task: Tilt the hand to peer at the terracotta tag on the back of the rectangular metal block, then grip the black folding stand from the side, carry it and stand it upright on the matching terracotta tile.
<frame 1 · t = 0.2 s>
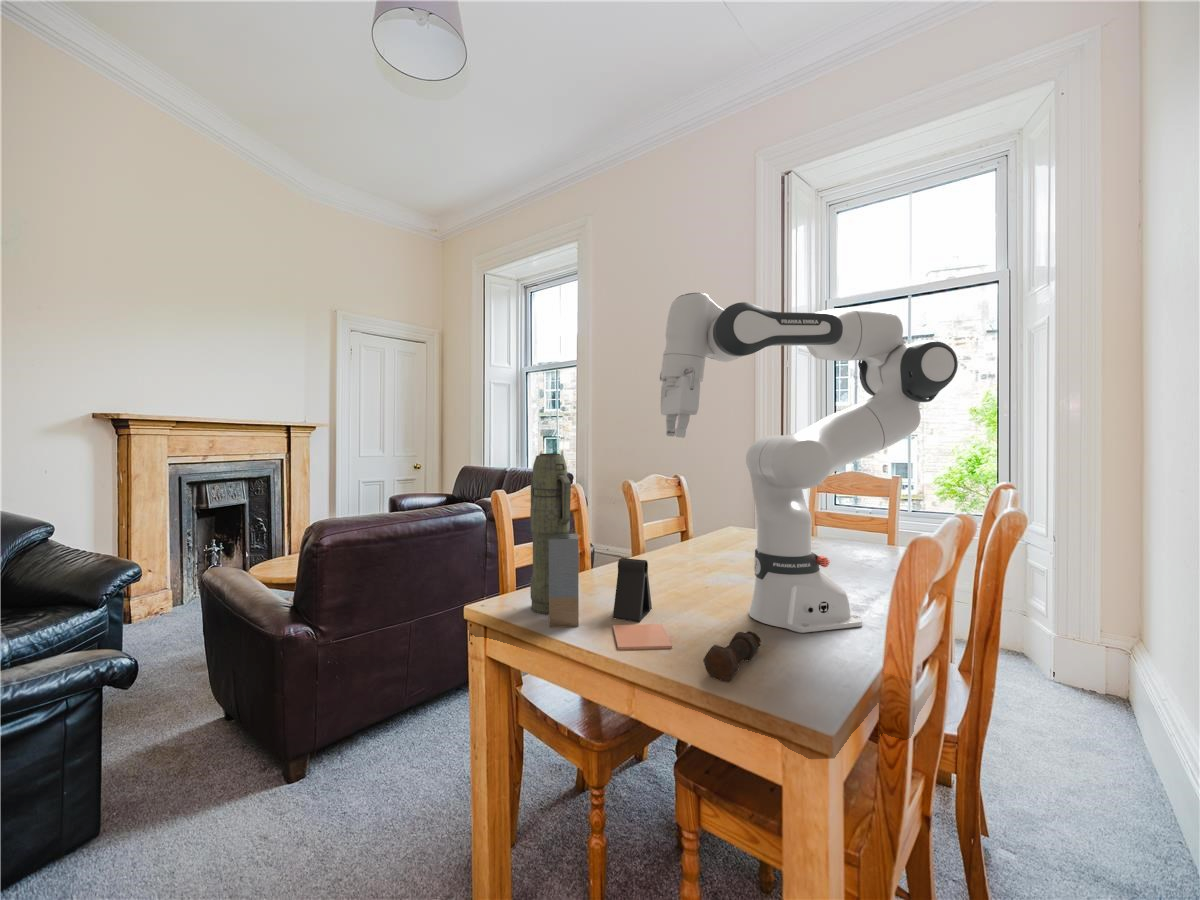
hand: (674, 436, 110), 39 cm above the table, tool pointing down, fingers open, 8 cm apart
bolt: (737, 666, 89), on the table
terracotta tile: (641, 637, 101), on the table
black folding stand: (632, 614, 114), on the table
rectangular metal block: (564, 621, 109), on the table
thermos: (550, 609, 118), on the table
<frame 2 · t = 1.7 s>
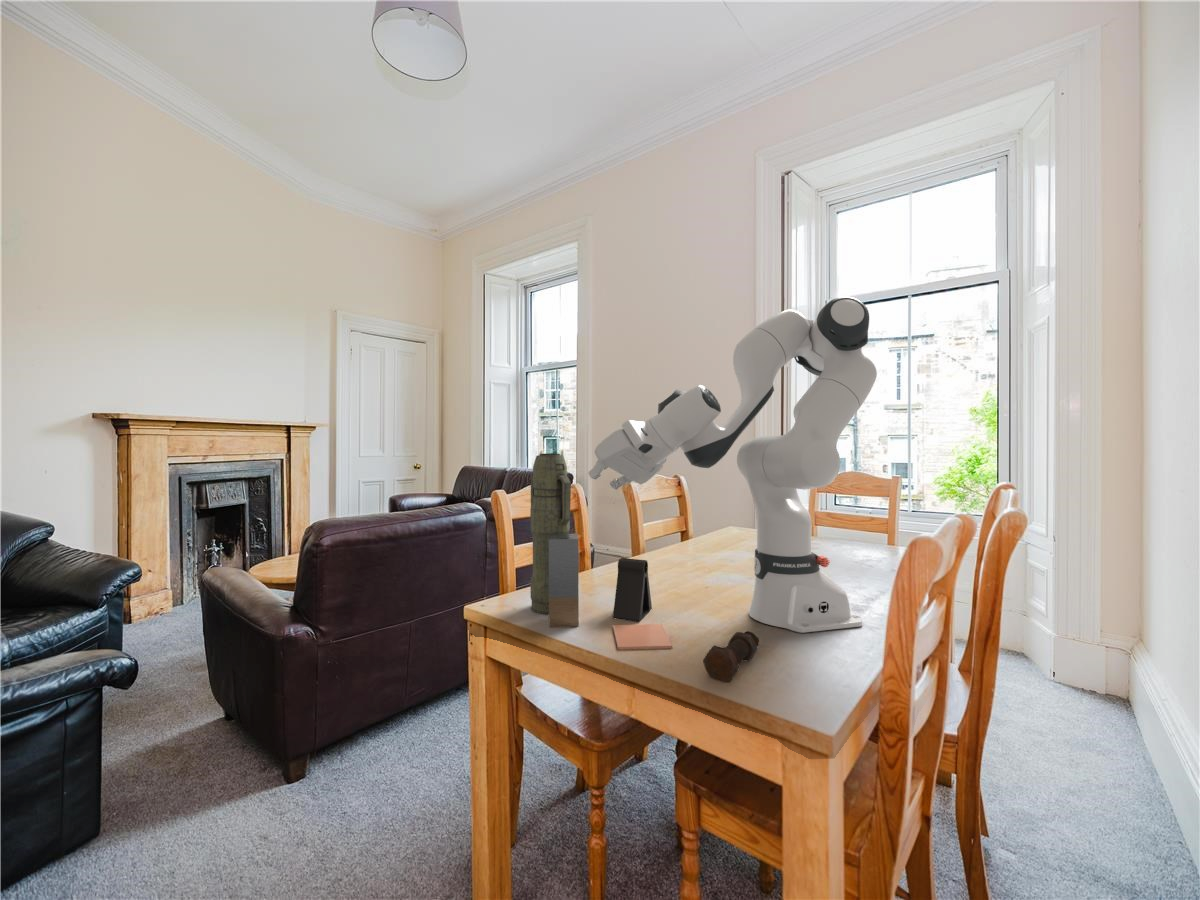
hand: (602, 481, 114), 29 cm above the table, tool tilted 55°, fingers open, 8 cm apart
nothing on the table moved.
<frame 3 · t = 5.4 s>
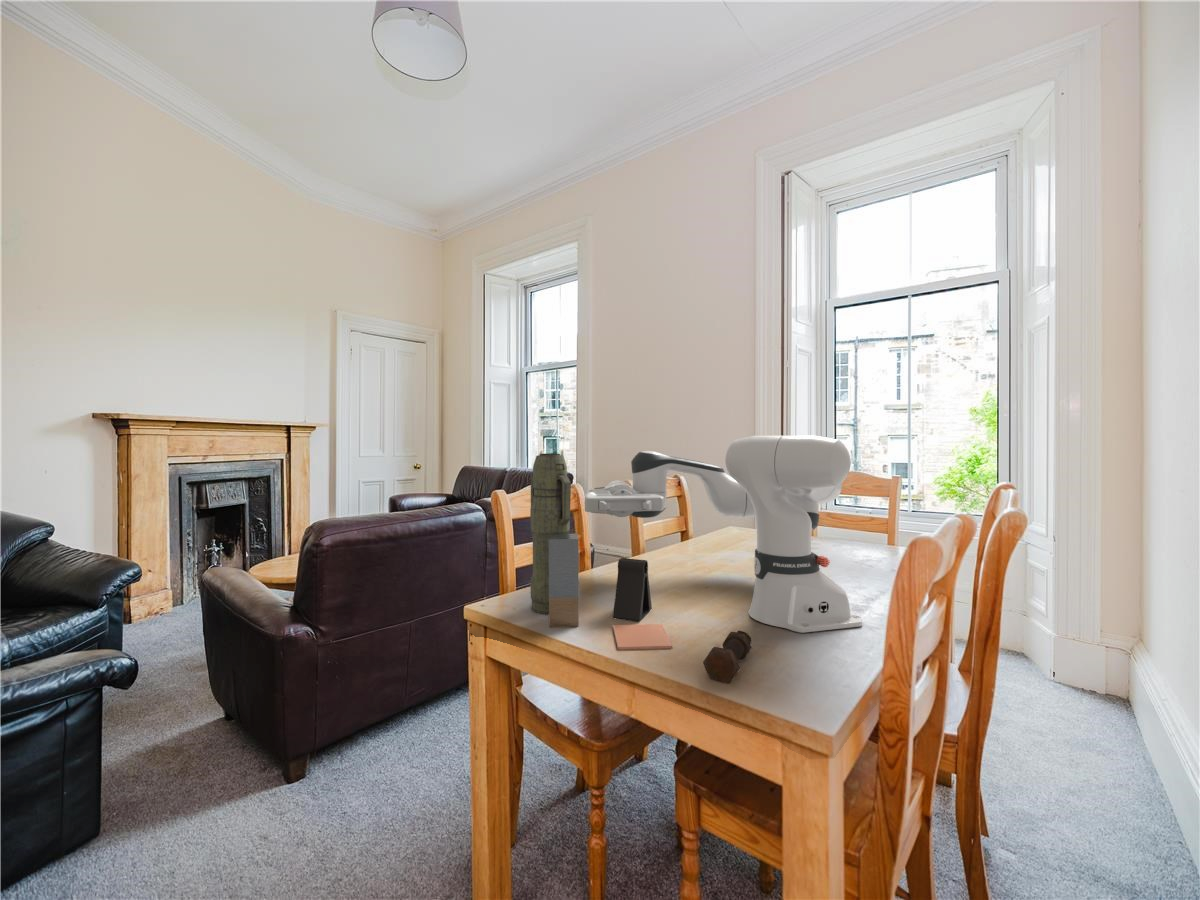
hand: (626, 507, 126), 22 cm above the table, tool horizontal, fingers open, 8 cm apart
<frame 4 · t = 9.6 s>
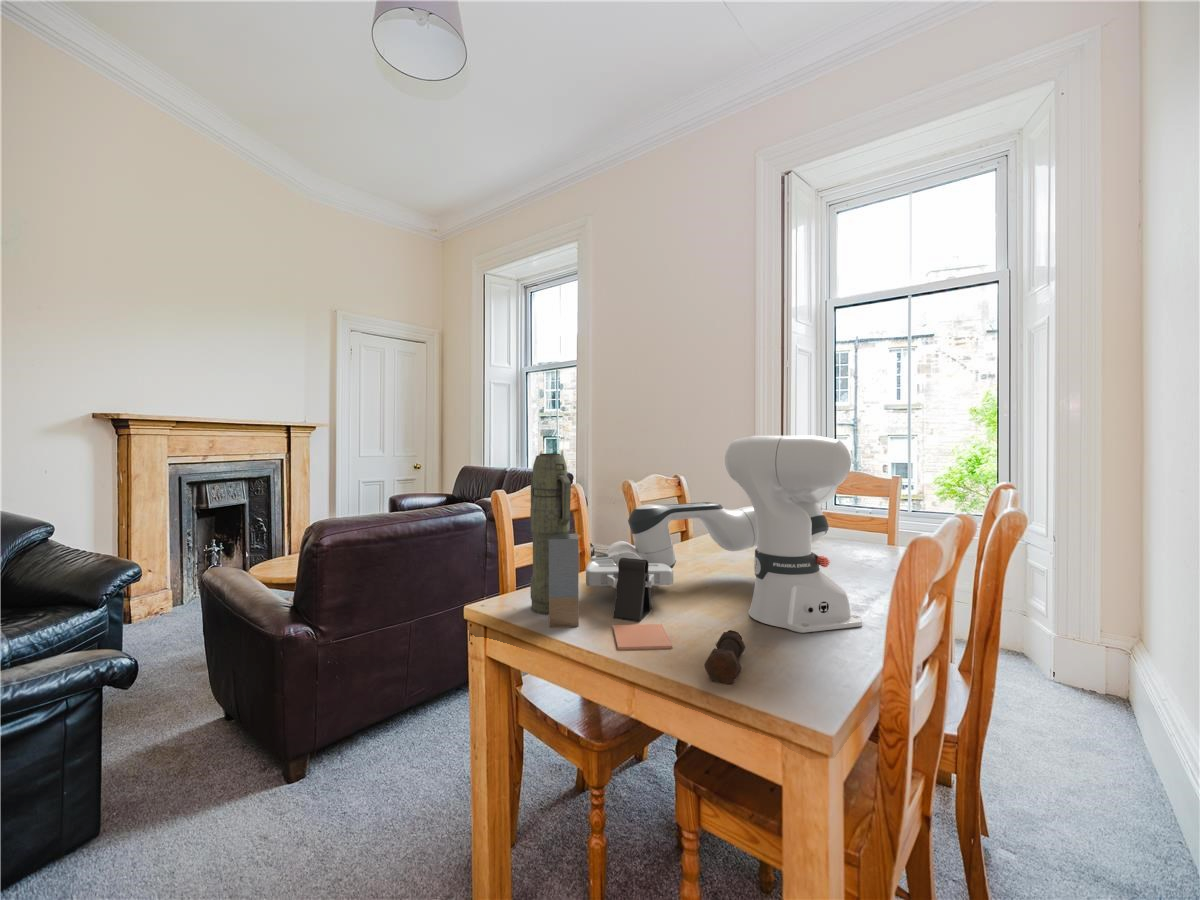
hand: (632, 584, 114), 7 cm above the table, tool horizontal, fingers closed on black folding stand, 5 cm apart
black folding stand: (633, 614, 114), on the table, touching gripper
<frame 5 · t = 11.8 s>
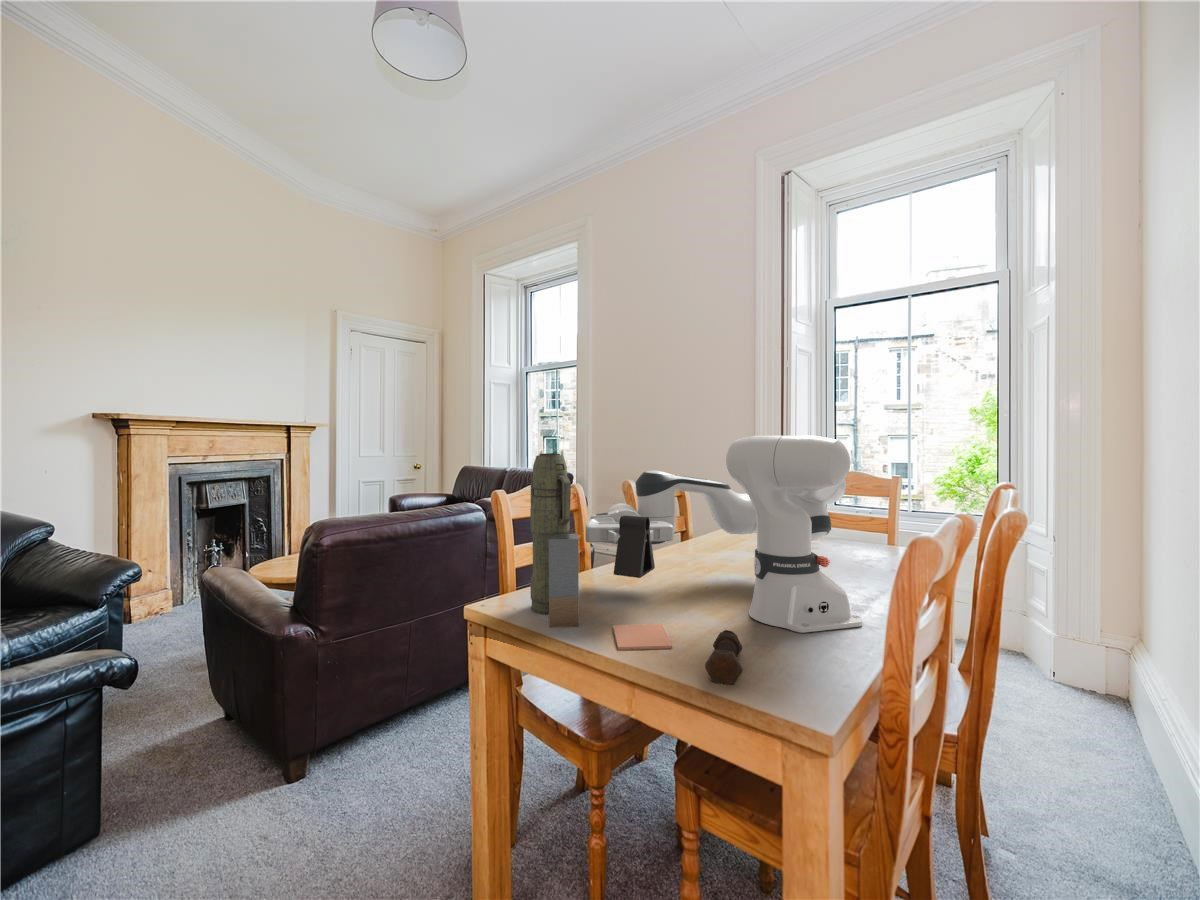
hand: (632, 538, 113), 17 cm above the table, tool horizontal, fingers closed on black folding stand, 5 cm apart
black folding stand: (634, 572, 113), point 9 cm above the table, touching gripper
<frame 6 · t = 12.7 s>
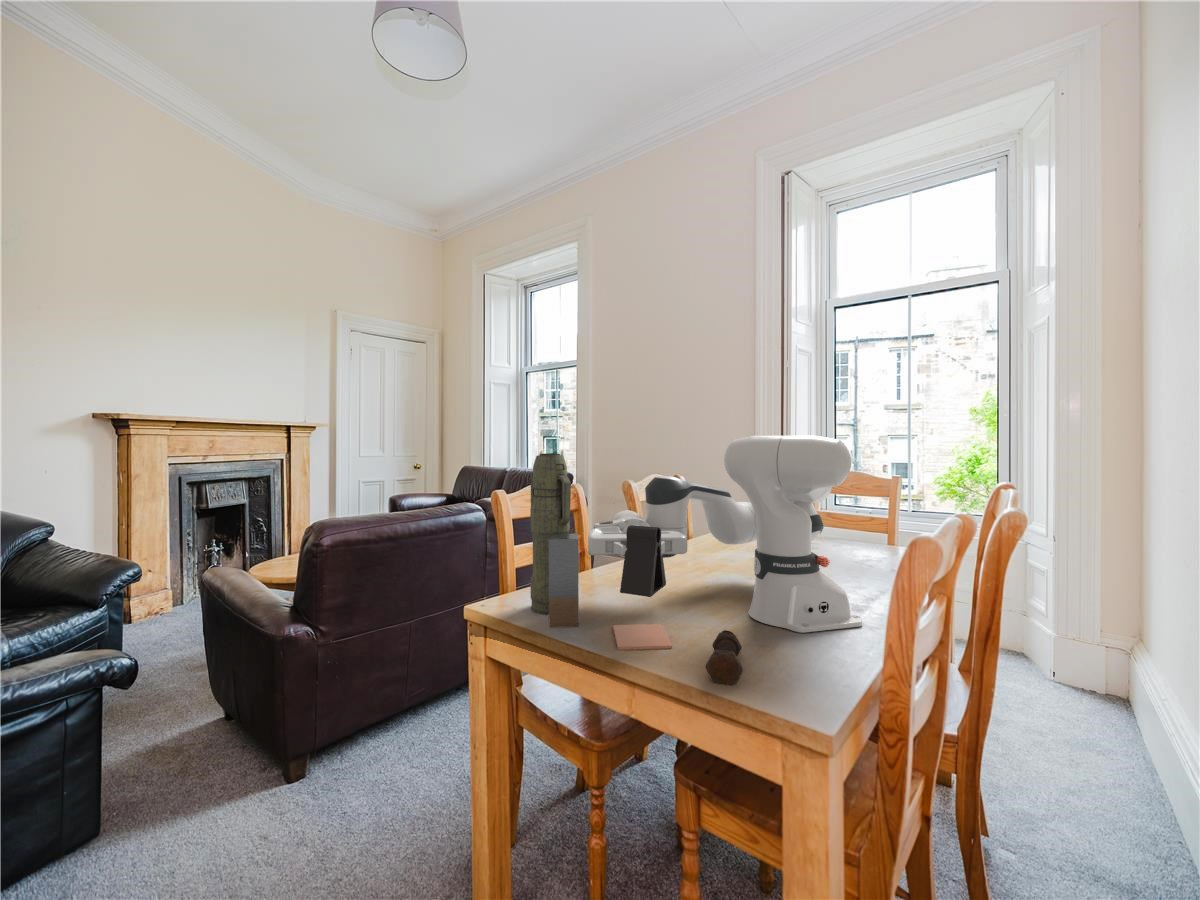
hand: (641, 551, 100), 17 cm above the table, tool horizontal, fingers closed on black folding stand, 5 cm apart
black folding stand: (643, 589, 100), point 9 cm above the table, touching gripper
when the fingers open (8 cm above the table, at t = 15.0 s): black folding stand stays where it is, resting on terracotta tile.
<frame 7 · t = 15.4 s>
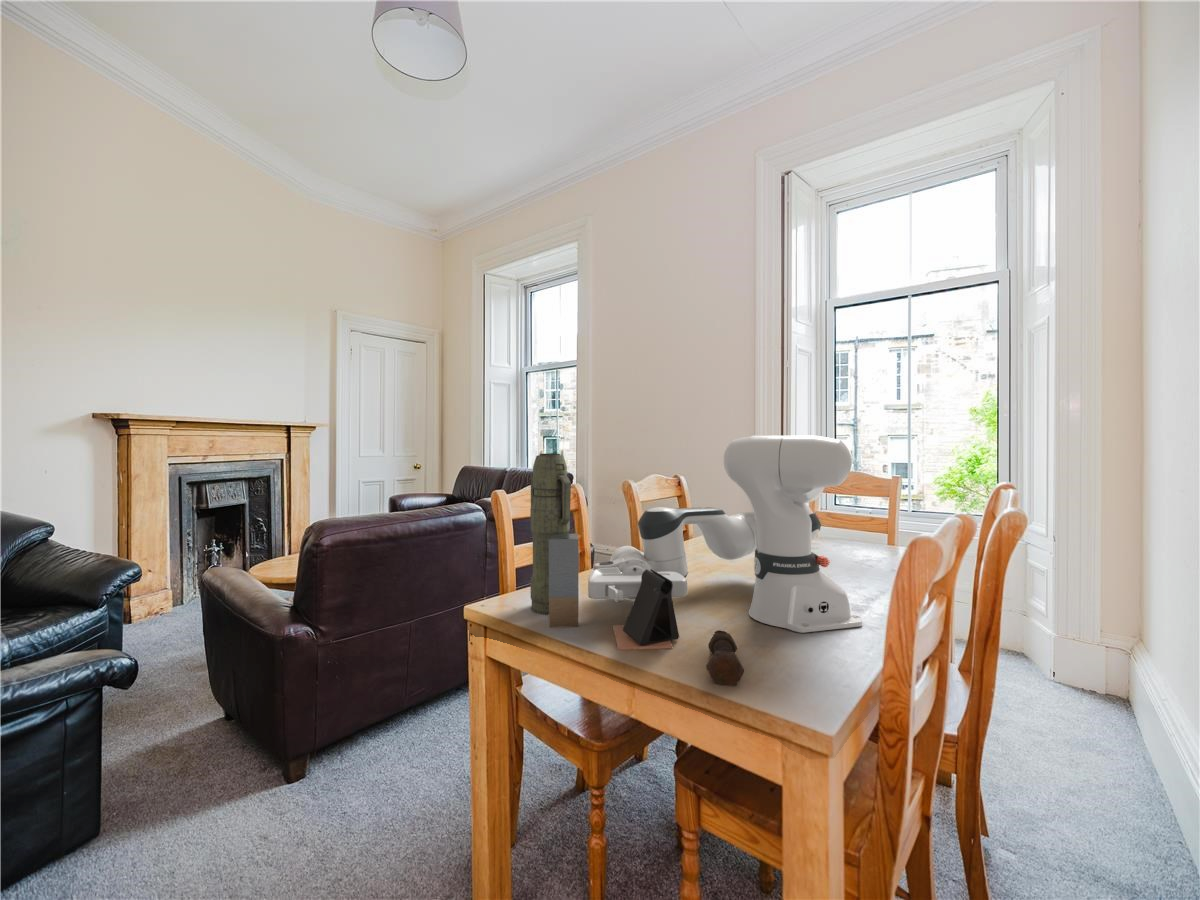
hand: (641, 597, 100), 8 cm above the table, tool horizontal, fingers open, 7 cm apart
black folding stand: (650, 636, 99), point 1 cm above the table, touching gripper, terracotta tile
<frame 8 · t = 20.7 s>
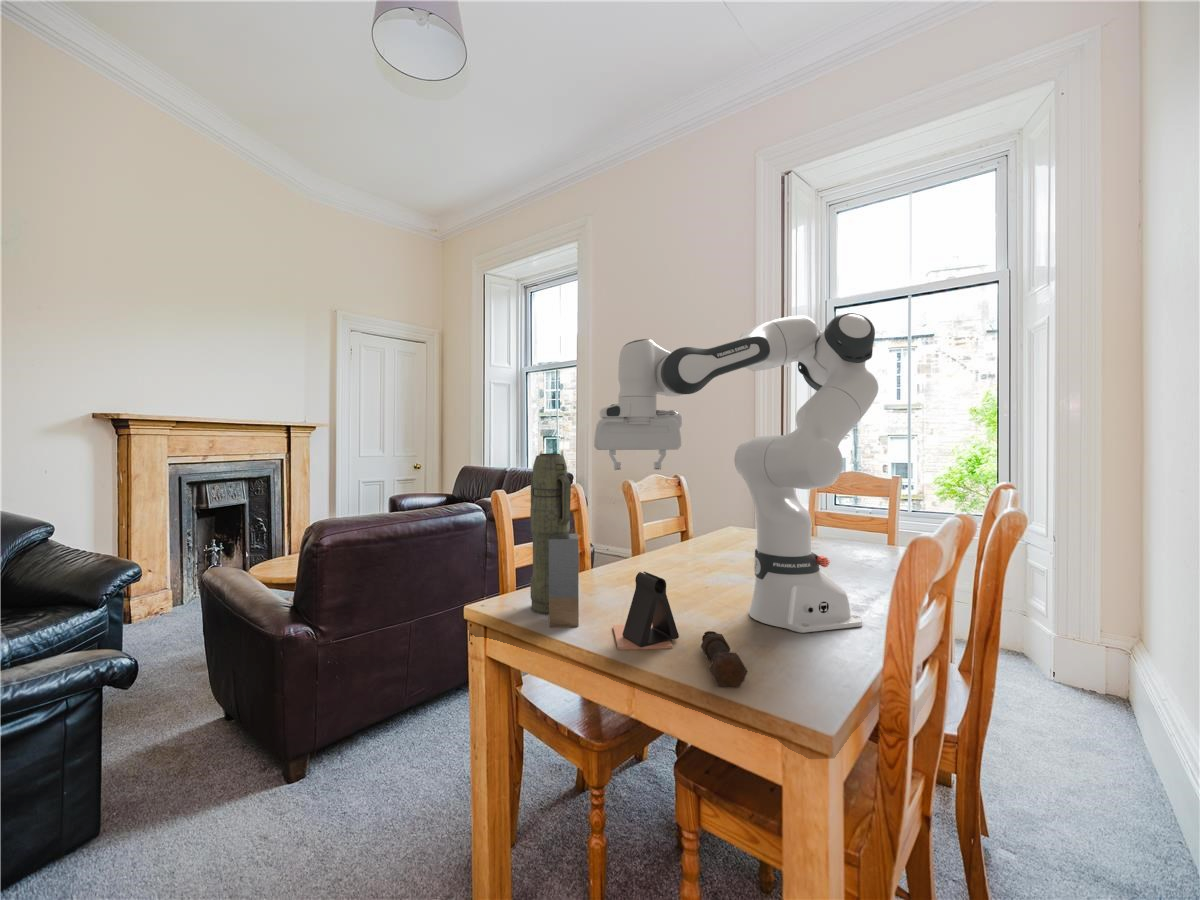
hand: (637, 469, 122), 31 cm above the table, tool pointing down, fingers open, 8 cm apart
black folding stand: (650, 638, 99), resting on terracotta tile
at the end: black folding stand inside the target area on the terracotta tile (2.1 cm from its centre), point 0.3 cm above the terracotta tile's base; black folding stand tilted 0°; the gripper is holding nothing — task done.
